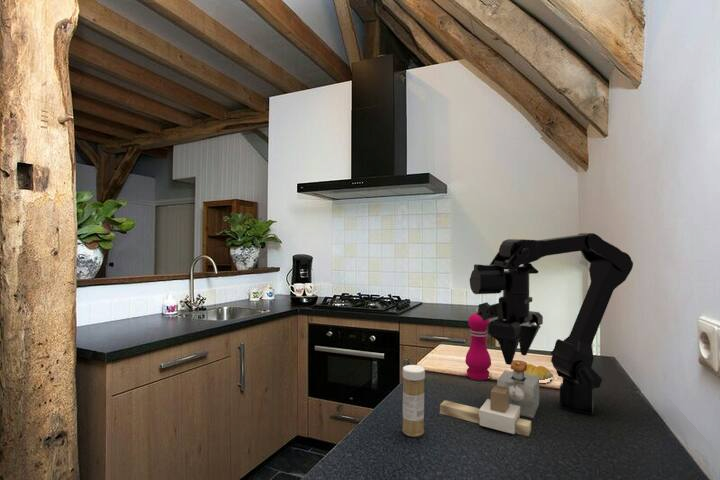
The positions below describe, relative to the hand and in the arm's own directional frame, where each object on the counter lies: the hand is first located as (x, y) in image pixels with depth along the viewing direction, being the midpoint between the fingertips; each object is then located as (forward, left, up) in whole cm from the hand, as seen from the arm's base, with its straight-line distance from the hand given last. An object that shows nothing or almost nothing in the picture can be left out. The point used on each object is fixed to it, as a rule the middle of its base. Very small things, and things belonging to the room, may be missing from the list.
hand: (516, 359), depth 92 cm
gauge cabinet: (0, -2, -12) cm, 12 cm away
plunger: (0, -2, -7) cm, 8 cm away
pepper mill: (+14, -18, -12) cm, 26 cm away
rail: (+5, +10, -12) cm, 16 cm away
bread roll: (0, -26, -13) cm, 29 cm away
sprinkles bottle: (+16, +23, -12) cm, 30 cm away
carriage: (+1, +10, -12) cm, 15 cm away
